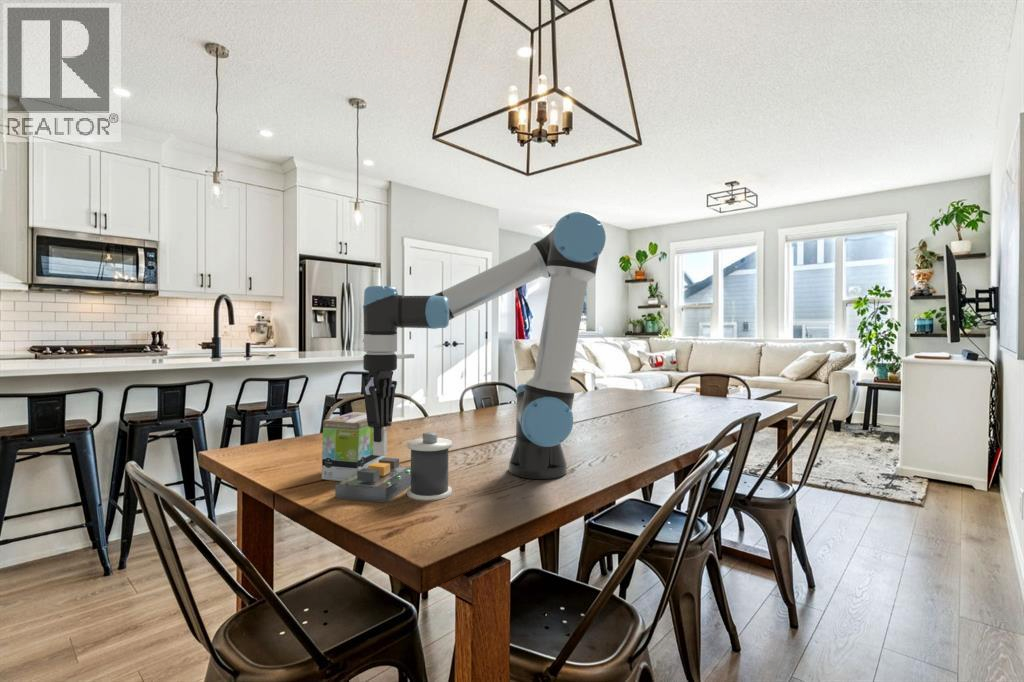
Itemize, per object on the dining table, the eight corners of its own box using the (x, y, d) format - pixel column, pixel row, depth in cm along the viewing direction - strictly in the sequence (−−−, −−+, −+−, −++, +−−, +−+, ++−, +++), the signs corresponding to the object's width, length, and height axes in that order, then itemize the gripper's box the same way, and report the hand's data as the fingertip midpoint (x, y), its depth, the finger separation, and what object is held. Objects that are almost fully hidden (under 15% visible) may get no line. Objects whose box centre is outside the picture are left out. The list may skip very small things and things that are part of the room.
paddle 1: (379, 478, 116) (379, 469, 116) (373, 481, 113) (373, 472, 113) (363, 477, 117) (363, 468, 117) (357, 480, 114) (357, 471, 114)
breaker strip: (418, 480, 127) (418, 467, 127) (385, 503, 110) (385, 487, 110) (373, 476, 130) (373, 463, 129) (335, 498, 113) (335, 483, 113)
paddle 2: (399, 466, 126) (399, 458, 125) (394, 469, 123) (394, 461, 123) (383, 465, 126) (384, 457, 126) (378, 468, 124) (378, 460, 124)
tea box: (358, 483, 124) (358, 422, 124) (320, 480, 126) (320, 420, 126) (386, 466, 139) (386, 412, 138) (351, 464, 141) (351, 410, 140)
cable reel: (457, 488, 121) (458, 430, 120) (442, 502, 111) (442, 439, 111) (417, 484, 123) (418, 428, 123) (399, 498, 113) (399, 436, 113)
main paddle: (390, 472, 121) (390, 463, 121) (383, 475, 118) (383, 467, 118) (374, 470, 122) (374, 462, 122) (367, 474, 119) (367, 465, 119)
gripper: (378, 351, 127) (378, 447, 127) (350, 354, 114) (350, 460, 115) (407, 352, 125) (406, 449, 126) (382, 355, 112) (381, 463, 113)
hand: (380, 454), depth 120 cm, fingers closed
